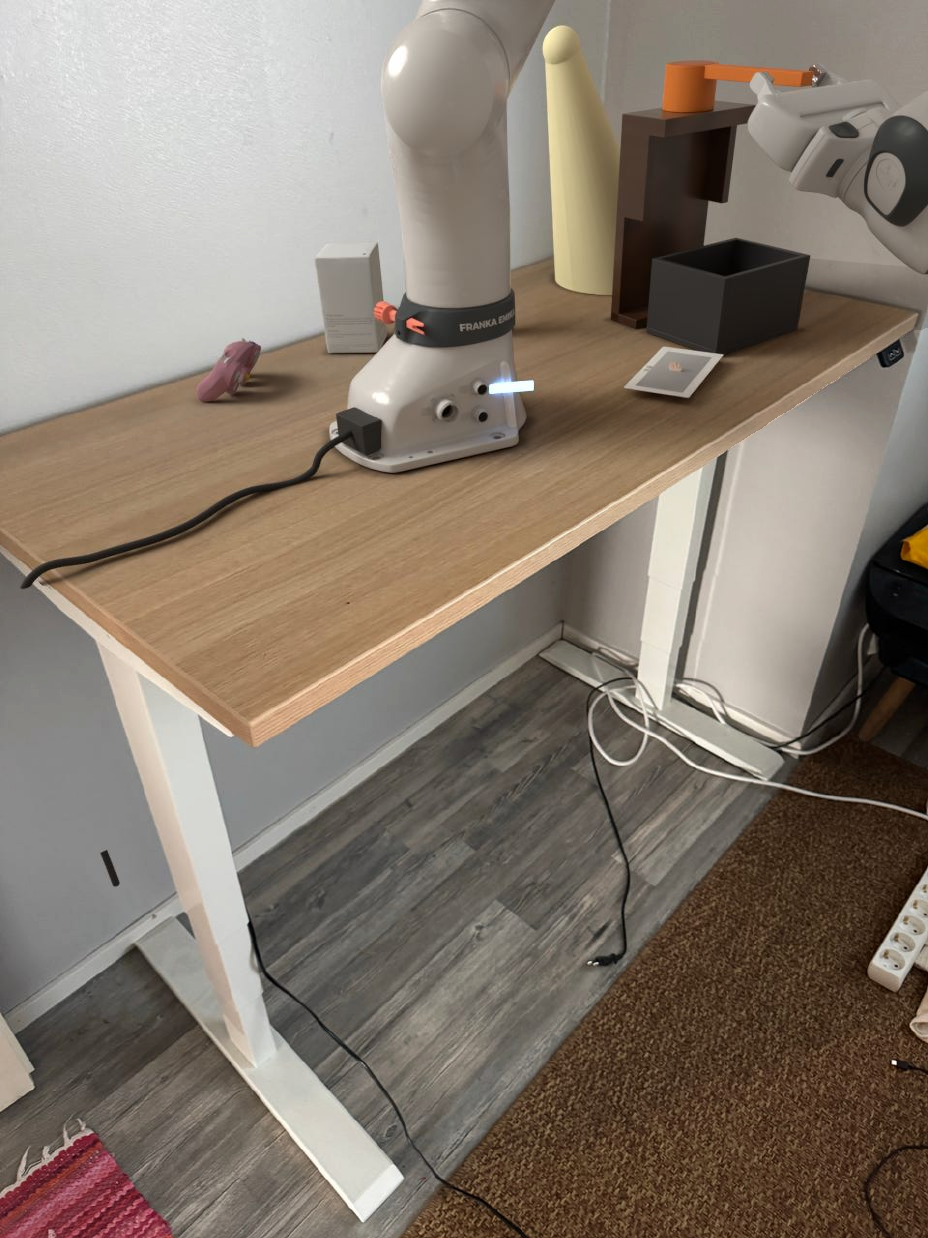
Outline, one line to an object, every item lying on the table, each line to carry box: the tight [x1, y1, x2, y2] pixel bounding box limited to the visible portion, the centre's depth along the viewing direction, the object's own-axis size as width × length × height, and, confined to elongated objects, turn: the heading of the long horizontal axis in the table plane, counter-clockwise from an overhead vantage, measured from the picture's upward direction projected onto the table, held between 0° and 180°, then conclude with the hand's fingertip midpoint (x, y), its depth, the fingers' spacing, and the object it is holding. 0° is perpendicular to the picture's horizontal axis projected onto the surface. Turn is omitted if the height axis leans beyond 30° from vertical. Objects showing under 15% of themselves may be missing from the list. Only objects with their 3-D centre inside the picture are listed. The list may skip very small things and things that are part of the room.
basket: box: [646, 237, 812, 356], centre depth 122 cm, size 16×13×10 cm
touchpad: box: [623, 346, 724, 399], centre depth 111 cm, size 8×15×2 cm, turn 152°
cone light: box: [542, 24, 620, 296], centre depth 135 cm, size 25×18×35 cm
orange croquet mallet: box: [661, 59, 814, 112], centre depth 110 cm, size 6×21×5 cm, turn 35°
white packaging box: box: [313, 241, 388, 354], centre depth 122 cm, size 7×7×13 cm
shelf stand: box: [610, 100, 757, 330], centre depth 124 cm, size 16×8×26 cm, turn 125°
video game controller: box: [195, 337, 262, 403], centre depth 113 cm, size 10×5×7 cm, turn 168°
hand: (784, 73), depth 104 cm, fingers open, 8 cm apart
